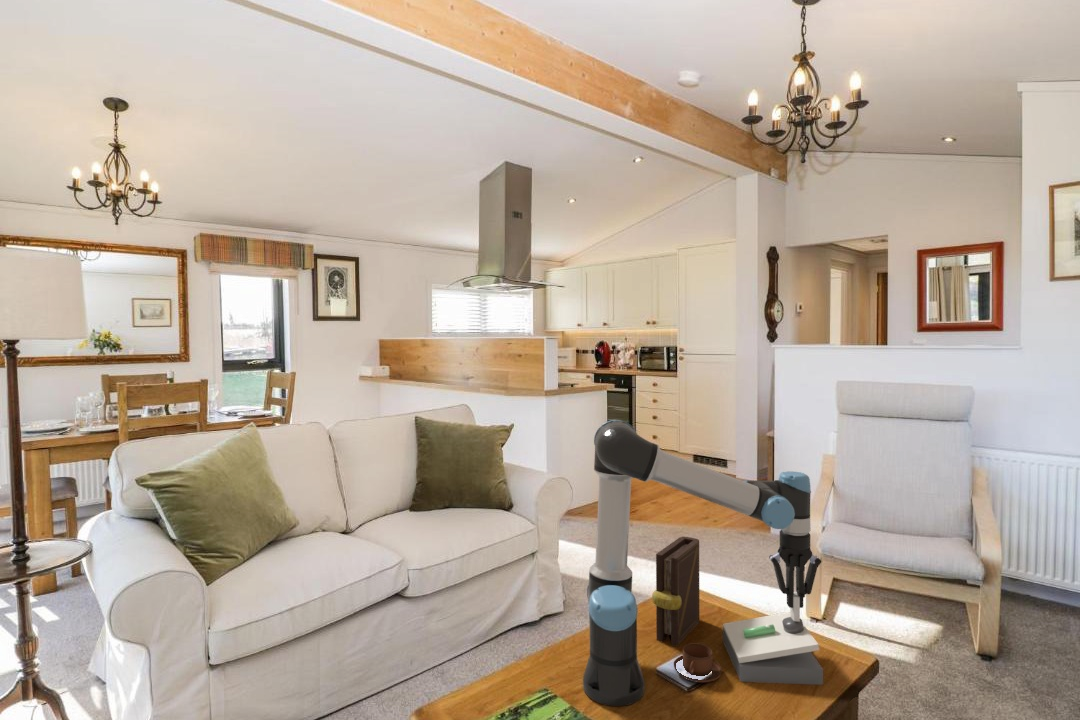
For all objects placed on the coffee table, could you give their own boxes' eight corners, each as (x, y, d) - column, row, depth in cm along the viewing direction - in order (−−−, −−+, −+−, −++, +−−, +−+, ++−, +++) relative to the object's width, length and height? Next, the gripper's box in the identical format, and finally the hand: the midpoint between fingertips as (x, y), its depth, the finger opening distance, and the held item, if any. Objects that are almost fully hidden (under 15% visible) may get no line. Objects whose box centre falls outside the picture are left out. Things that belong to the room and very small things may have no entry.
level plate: (739, 663, 148) (736, 649, 148) (723, 628, 166) (720, 616, 166) (819, 650, 146) (816, 635, 146) (794, 616, 164) (792, 603, 164)
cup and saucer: (724, 689, 144) (724, 665, 144) (674, 684, 147) (674, 660, 147) (719, 663, 156) (719, 640, 156) (673, 659, 158) (673, 636, 158)
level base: (740, 681, 147) (740, 666, 147) (722, 641, 167) (722, 627, 167) (822, 684, 146) (823, 669, 145) (795, 643, 165) (795, 629, 165)
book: (678, 613, 185) (678, 535, 184) (705, 620, 180) (704, 540, 179) (648, 642, 167) (648, 556, 166) (676, 651, 162) (676, 562, 161)
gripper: (815, 527, 158) (815, 613, 159) (765, 526, 159) (765, 611, 160) (826, 536, 150) (826, 626, 151) (773, 535, 152) (774, 625, 152)
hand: (795, 618), depth 155 cm, fingers closed
